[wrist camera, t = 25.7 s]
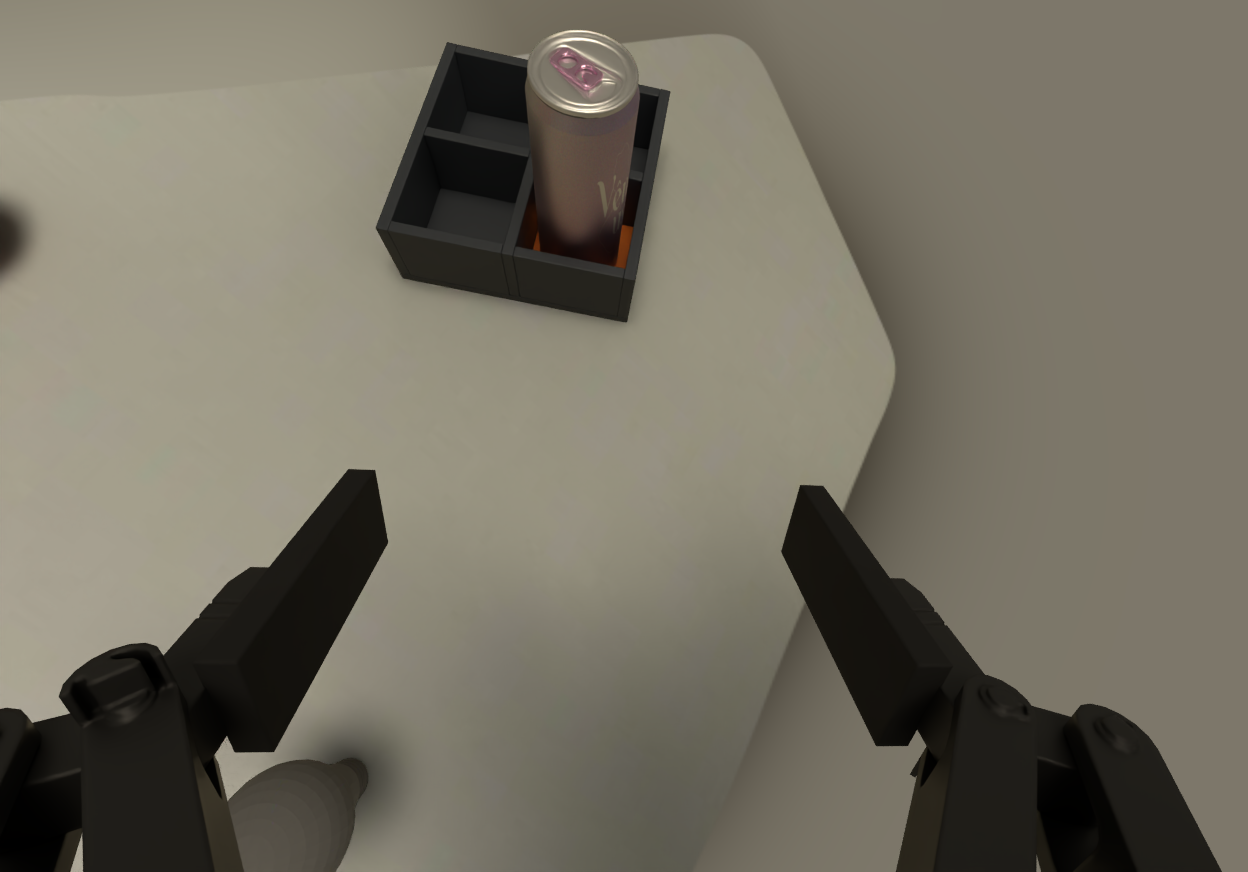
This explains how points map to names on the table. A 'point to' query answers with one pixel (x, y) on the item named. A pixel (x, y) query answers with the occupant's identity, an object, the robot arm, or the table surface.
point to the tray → (503, 194)
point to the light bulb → (297, 815)
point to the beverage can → (581, 141)
